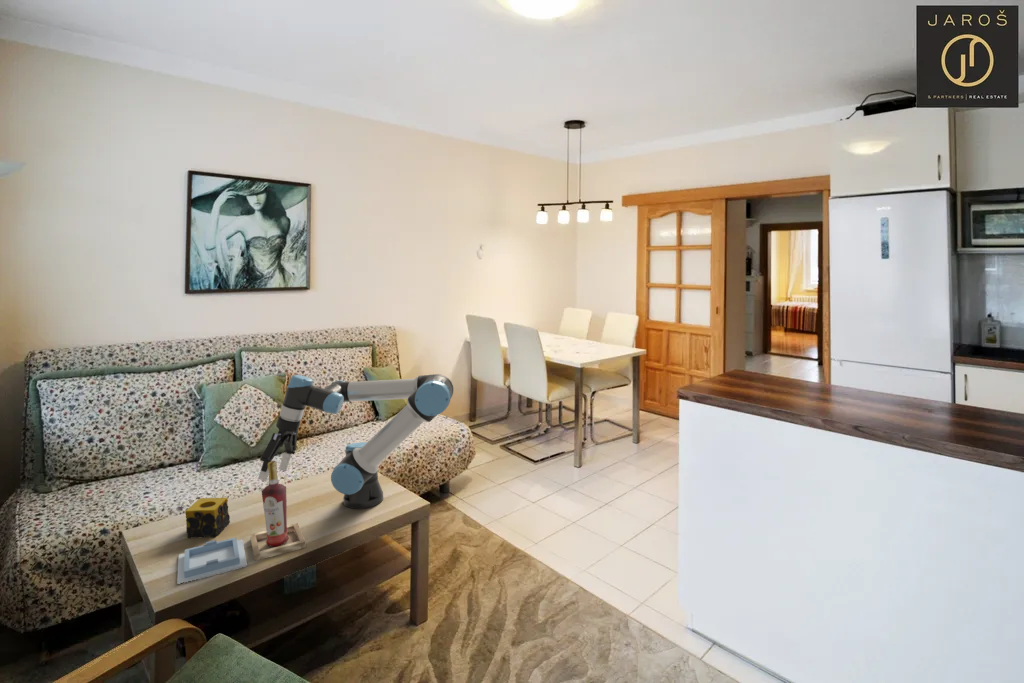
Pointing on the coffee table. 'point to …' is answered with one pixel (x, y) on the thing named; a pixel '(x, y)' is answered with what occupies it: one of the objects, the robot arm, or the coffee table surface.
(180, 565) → the tray
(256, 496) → the coffee table surface
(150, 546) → the coffee table surface
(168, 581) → the coffee table surface
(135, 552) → the coffee table surface
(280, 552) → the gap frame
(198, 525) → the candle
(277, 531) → the liquor
